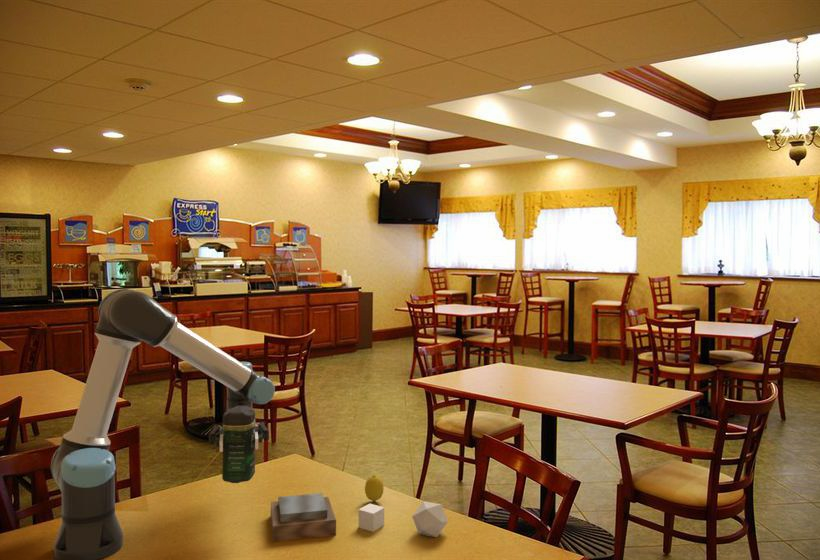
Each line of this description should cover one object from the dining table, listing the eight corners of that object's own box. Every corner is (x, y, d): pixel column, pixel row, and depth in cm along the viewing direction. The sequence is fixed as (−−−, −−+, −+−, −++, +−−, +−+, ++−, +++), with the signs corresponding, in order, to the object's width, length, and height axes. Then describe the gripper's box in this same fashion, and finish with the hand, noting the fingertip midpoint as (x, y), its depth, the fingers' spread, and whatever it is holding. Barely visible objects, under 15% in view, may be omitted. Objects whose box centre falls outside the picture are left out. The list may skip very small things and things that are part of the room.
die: (451, 533, 165) (438, 497, 169) (451, 529, 157) (436, 492, 161) (423, 545, 164) (410, 509, 168) (421, 542, 156) (407, 504, 160)
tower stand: (273, 541, 157) (273, 518, 157) (270, 516, 173) (270, 494, 172) (336, 534, 161) (336, 512, 161) (328, 510, 177) (328, 489, 177)
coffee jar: (250, 484, 158) (250, 412, 157) (219, 484, 158) (218, 412, 157) (258, 471, 168) (258, 403, 167) (228, 471, 167) (228, 403, 166)
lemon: (362, 504, 181) (362, 477, 181) (368, 497, 187) (368, 471, 186) (379, 506, 180) (379, 479, 180) (386, 499, 185) (386, 473, 185)
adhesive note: (373, 532, 163) (373, 513, 163) (358, 527, 166) (358, 509, 166) (384, 525, 168) (384, 507, 167) (369, 521, 170) (369, 503, 170)
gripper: (276, 432, 182) (281, 456, 160) (201, 437, 177) (195, 463, 155) (276, 407, 182) (280, 428, 160) (201, 411, 177) (195, 433, 155)
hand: (239, 445), depth 158 cm, fingers closed on coffee jar, 8 cm apart
